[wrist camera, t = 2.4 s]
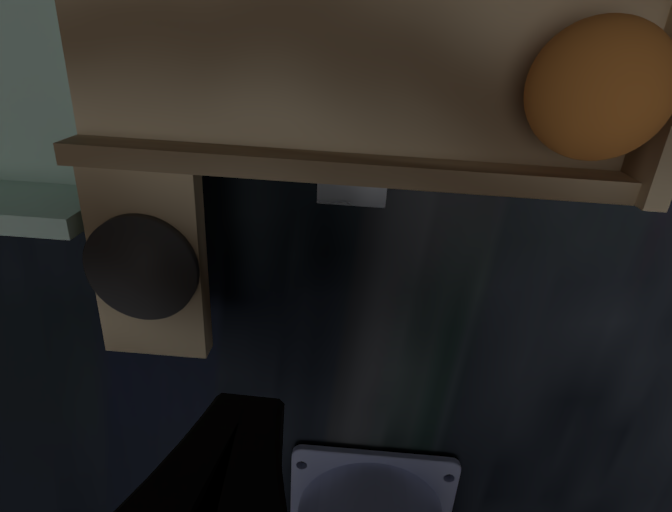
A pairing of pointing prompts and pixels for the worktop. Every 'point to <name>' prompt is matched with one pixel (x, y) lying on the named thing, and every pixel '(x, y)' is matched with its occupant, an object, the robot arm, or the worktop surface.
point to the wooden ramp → (303, 125)
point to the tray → (35, 125)
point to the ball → (601, 87)
